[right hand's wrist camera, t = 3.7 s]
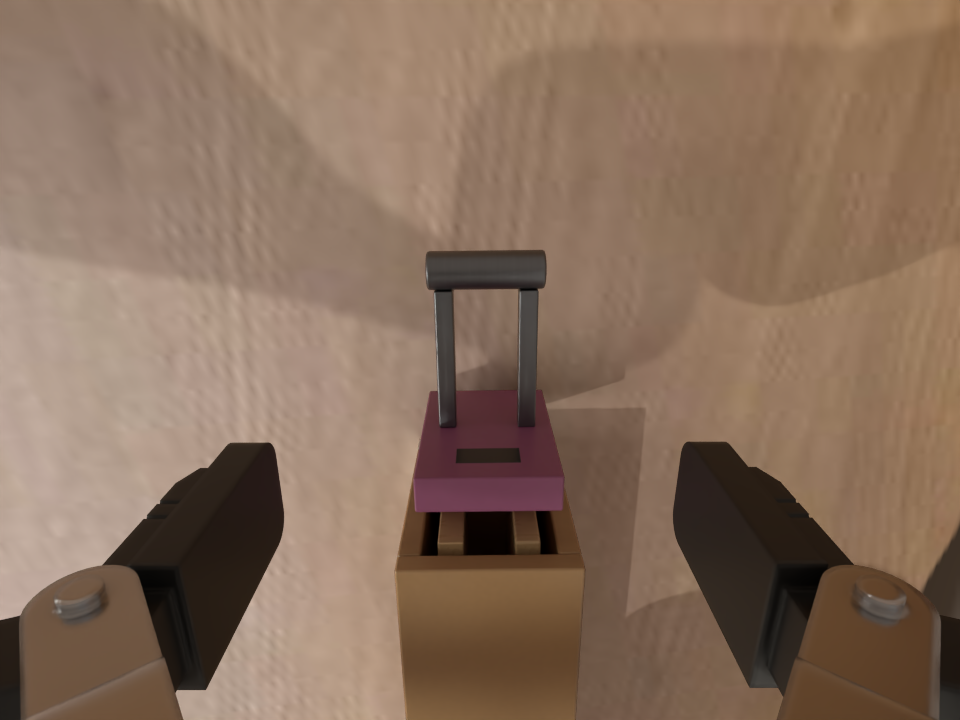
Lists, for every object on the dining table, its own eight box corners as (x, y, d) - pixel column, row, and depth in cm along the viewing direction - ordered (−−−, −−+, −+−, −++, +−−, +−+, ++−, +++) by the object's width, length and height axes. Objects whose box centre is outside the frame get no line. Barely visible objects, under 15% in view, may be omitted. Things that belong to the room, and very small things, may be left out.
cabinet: (419, 438, 25) (393, 570, 17) (552, 436, 25) (586, 568, 17) (437, 761, 32) (423, 958, 24) (540, 759, 32) (560, 956, 24)
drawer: (422, 237, 21) (400, 275, 15) (546, 235, 21) (574, 273, 15) (445, 728, 29) (436, 878, 23) (532, 727, 29) (546, 877, 23)
